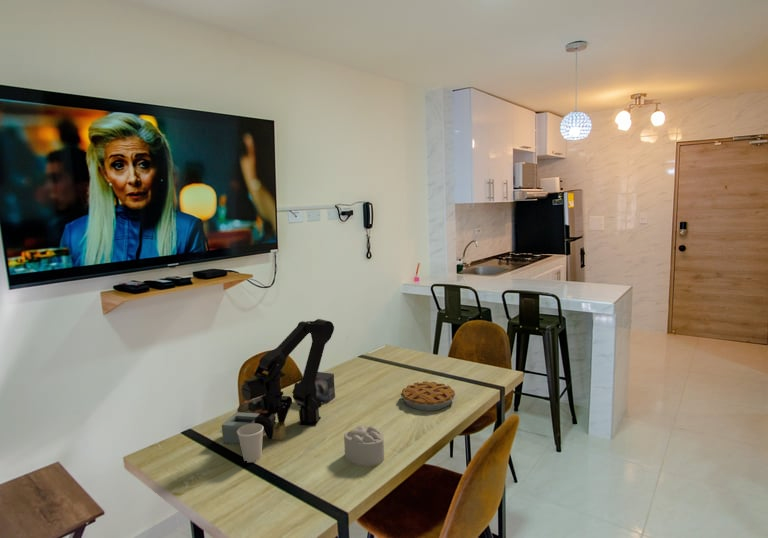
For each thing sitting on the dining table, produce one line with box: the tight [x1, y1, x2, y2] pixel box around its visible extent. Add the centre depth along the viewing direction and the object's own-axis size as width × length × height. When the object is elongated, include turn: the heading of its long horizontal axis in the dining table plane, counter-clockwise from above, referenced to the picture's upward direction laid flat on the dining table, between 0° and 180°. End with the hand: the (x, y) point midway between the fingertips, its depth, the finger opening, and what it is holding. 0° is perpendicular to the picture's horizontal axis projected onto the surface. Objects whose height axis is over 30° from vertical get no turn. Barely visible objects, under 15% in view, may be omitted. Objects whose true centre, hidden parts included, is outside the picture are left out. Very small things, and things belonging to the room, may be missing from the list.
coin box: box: [221, 411, 266, 446], centre depth 168 cm, size 11×10×7 cm
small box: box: [315, 371, 336, 403], centre depth 199 cm, size 11×6×10 cm, turn 68°
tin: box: [236, 396, 268, 414], centre depth 183 cm, size 15×3×8 cm, turn 134°
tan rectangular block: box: [265, 421, 287, 441], centre depth 168 cm, size 6×3×5 cm, turn 78°
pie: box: [400, 381, 456, 412], centre depth 193 cm, size 22×22×5 cm
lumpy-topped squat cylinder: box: [343, 425, 385, 467], centre depth 153 cm, size 10×13×9 cm
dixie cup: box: [237, 423, 264, 463], centre depth 154 cm, size 8×8×10 cm
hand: (275, 433), depth 168 cm, fingers open, 9 cm apart
